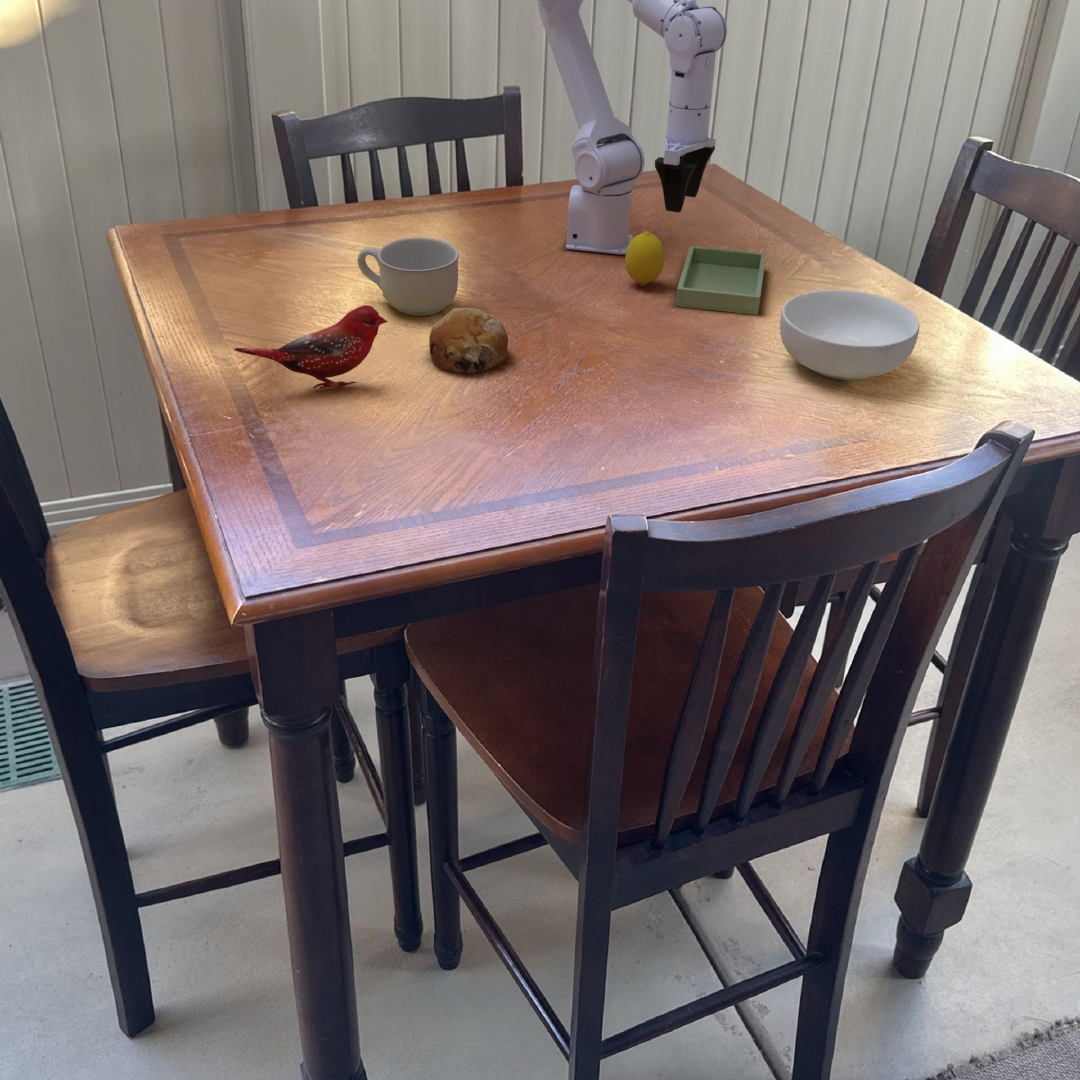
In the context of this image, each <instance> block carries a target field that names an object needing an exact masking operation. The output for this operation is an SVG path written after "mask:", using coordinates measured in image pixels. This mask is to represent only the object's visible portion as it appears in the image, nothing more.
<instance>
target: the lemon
mask: <svg viewBox="0 0 1080 1080" xmlns="http://www.w3.org/2000/svg"><path fill="white" fill-rule="evenodd" d="M624 258H625V259H624V261H625V263H624V265H625V270H626V272H627V274H628V276H629V277H630V278H631V279H632V280H633V281H635V282H637V283H638V284H639V285H640V286H642V287H644V286H646V285H647V284H648V283H651V282H653V281H655V280H656V279H657V278H658V277H660V275H661V274H662V271H663V268H664V264H665V250H664V245H663V243H662V241H661V240H660V238H659V237H657V236H656V235H655V234H653V233H651V232H650V231H648V230H645V231H644V232H642V233H638V234H637V235H635V236H633V239H632V240H631V242H630V243H629V246H628V248H627V252H626V255H625V256H624Z"/></svg>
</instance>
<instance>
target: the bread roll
mask: <svg viewBox="0 0 1080 1080" xmlns="http://www.w3.org/2000/svg"><path fill="white" fill-rule="evenodd" d="M428 341H429V344H428V345H429V355H430V359H431V361H432V362H433V363H434V364H435V365H436V366H437V367H438V368H439V369H442V370H444V371H448V372H453V373H458V374H464V373H466V374H476V373H481V372H485V371H488V370H491V369H493V368H495V367H498V366H499V365H500V364H502V363H503V361H504V360H505V359H506V358H507V355H508V345H509V337H508V332H507V330H506V328H505V326H504V325H503V323H501V321H499V320H498V319H497V318H496V317H495V316H494V315H492V314H490V313H488V312H487V311H484V310H482V309H479V308H474V307H453V308H452V309H451V310H450V311H449V312H448V313H447V314H445V315H444V316H443V317H442V318H441V319H440V320H439V321H437V322H435V324H433V325H432V328H431V330H430V333H429V340H428Z"/></svg>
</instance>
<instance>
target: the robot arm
mask: <svg viewBox="0 0 1080 1080" xmlns="http://www.w3.org/2000/svg"><path fill="white" fill-rule="evenodd" d="M584 1H585V0H537V6H538V13H539V16H540V20H541V23H542V26H543V28H544V31H545V34H546V37H547V40H548V43H549V46H550V48H551V52H552V54H553V57H554V60H555V63H556V66H557V68H558V73H559V74H560V77H561V81H562V84H563V86H564V89H565V92H566V95H567V97H568V101H569V104H570V107H571V109H572V112H573V115H574V118H575V121H576V123H577V126H578V129H579V131H578V133H577V135H576V137H575V138H574V140H573V142H572V143H571V145H570V149H571V152H572V156H573V160H574V161H573V162H574V174H575V177H576V179H577V182H578V183H579V184H574V185H572V186H571V189H570V191H569V193H570V194H569V198H568V208H567V225H566V226H567V230H566V244H565V249H566V250H574V251H581V252H582V251H583V252H593V253H601V254H602V253H603V254H611V255H621V256H626V252H627V248H628V246H629V243H630V242H631V240H632V239H633V238H634V236H633V235H632V234H629V231H630V218H631V203H632V189H633V188H634V187H635V186H636V180H637V179H638V178H639V177H640V176H642V174H643V172H644V168H645V154H644V151H643V149H642V147H641V145H640V143H639V142H638V141H637V140H636V139H635V137H634V136H633V133H632V131H631V128H630V126H629V125H627V124H626V123H625V122H623V121H622V120H620V119H618V118H617V117H615V115H614V112H613V109H612V106H611V103H610V100H609V98H608V94H607V90H606V88H605V85H604V83H603V80H602V76H601V74H600V71H599V68H598V64H597V62H596V59H595V56H594V53H593V49H592V47H591V44H590V42H589V39H588V35H587V33H586V29H585V27H584V23H583V20H582V17H581V14H580V9H581V7H582V4H583V2H584ZM626 1H627V2H629V3H631V4H632V13H633V15H634V17H635V19H637V20H638V21H639V22H641V23H642V24H644V25H645V26H646V27H648V29H650V30H652V31H653V32H655V33H656V34H658V35H659V36H660V37H661V38H663V39H664V42H665V46H666V49H667V51H668V54H669V66H670V69H671V74H670V87H669V88H670V89H669V100H668V111H667V112H668V114H667V126H666V134H665V137H664V145H665V148H664V152H663V153H664V154H663V157H662V156H661V157H660V156H658V157H657V158H655V160H654V168H655V171H656V172H657V174H658V177H659V180H660V183H661V186H662V187H661V188H662V193H663V200H664V207H665V211H667V212H673V213H681V212H682V210H683V207H684V204H685V199H686V197H687V198H688V197H689V198H696V197H697V195H698V193H699V189H700V187H701V183H702V179H703V176H704V173H705V170H706V168H707V165H708V162H709V161H710V159H711V157H712V155H713V154H714V152H715V150H716V146H715V145H716V143H717V139H716V138H710V137H709V129H710V117H711V107H712V98H713V87H714V77H715V66H716V57H717V52H718V51H719V50H720V49H721V48H722V47H723V46H724V44H725V42H726V39H727V34H728V26H727V22H726V19H725V16H724V15H723V13H722V12H720V10H718V7H716V6H714V5H705V6H702V7H701V6H699V5H698V4H697V0H626Z"/></svg>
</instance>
